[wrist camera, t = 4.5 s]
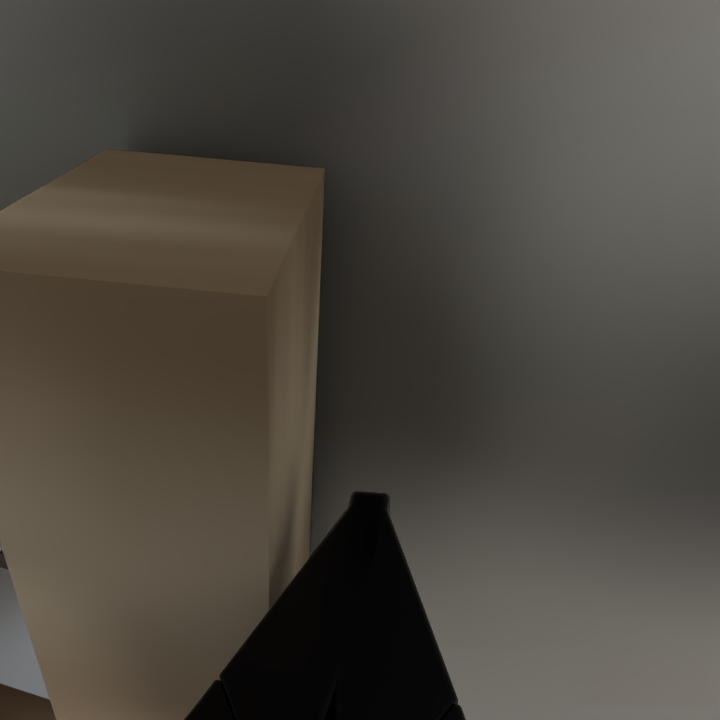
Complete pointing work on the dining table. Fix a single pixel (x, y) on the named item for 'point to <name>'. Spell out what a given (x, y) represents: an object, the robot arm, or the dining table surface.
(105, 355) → the oak leg
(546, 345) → the dining table surface
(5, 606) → the bench scraper
